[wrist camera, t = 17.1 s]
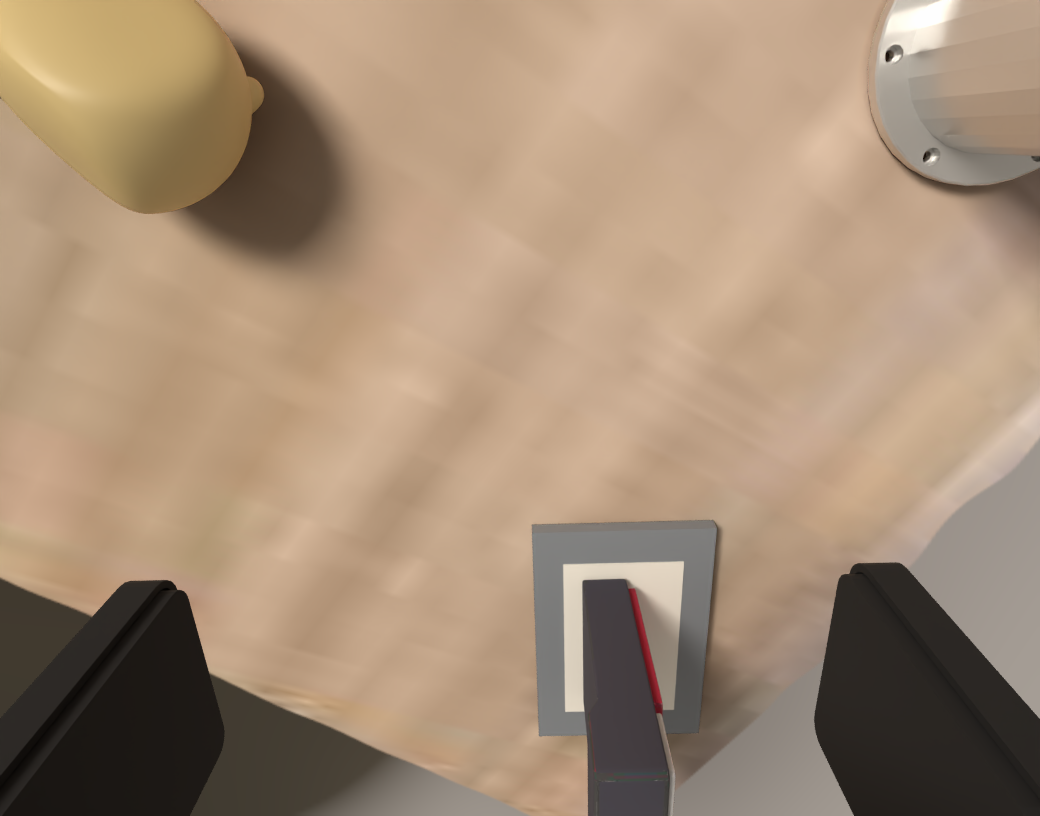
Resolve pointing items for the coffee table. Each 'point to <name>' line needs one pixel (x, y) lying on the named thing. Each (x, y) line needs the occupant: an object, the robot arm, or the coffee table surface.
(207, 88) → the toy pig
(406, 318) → the coffee table surface
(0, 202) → the coffee table surface
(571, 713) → the slate picture frame
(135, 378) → the coffee table surface
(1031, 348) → the coffee table surface
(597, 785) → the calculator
